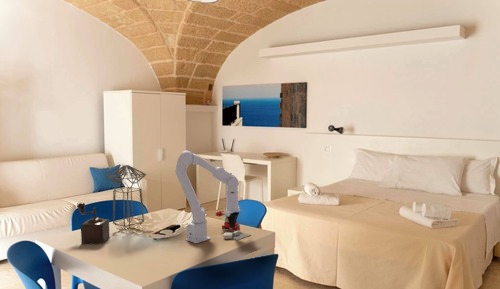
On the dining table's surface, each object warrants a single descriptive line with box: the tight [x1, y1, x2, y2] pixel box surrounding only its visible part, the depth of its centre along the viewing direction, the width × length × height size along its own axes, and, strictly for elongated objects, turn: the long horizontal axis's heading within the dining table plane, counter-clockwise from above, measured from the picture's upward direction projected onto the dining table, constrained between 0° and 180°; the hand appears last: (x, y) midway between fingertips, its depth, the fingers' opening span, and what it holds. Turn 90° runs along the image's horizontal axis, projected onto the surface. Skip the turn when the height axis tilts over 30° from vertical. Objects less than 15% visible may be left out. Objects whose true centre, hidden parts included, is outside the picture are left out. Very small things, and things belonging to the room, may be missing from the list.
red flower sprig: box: [215, 210, 241, 232], centre depth 211 cm, size 3×14×10 cm, turn 58°
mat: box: [231, 231, 252, 241], centre depth 202 cm, size 10×10×1 cm
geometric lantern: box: [106, 164, 147, 233], centre depth 211 cm, size 16×16×35 cm
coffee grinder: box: [76, 202, 111, 245], centre depth 196 cm, size 16×11×18 cm
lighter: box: [222, 231, 240, 240], centre depth 200 cm, size 7×2×8 cm
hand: (232, 227), depth 198 cm, fingers closed
